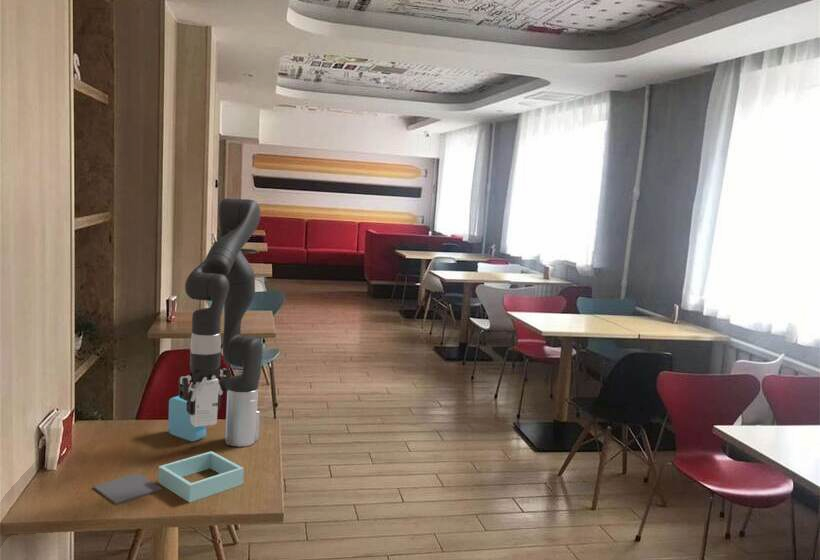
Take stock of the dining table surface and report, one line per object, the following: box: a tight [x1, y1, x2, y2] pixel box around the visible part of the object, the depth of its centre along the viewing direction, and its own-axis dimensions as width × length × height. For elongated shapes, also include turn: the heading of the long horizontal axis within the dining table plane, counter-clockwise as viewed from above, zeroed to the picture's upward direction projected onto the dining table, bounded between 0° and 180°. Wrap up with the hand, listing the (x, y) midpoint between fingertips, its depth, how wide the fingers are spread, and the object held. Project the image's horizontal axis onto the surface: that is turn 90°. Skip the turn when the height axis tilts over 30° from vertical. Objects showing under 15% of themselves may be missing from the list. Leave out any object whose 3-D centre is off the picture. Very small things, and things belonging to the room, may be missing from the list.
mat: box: [92, 472, 163, 505], centre depth 169 cm, size 12×12×1 cm
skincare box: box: [190, 378, 220, 427], centre depth 173 cm, size 6×4×12 cm
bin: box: [157, 450, 245, 503], centre depth 175 cm, size 16×15×4 cm
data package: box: [167, 395, 207, 442], centre depth 206 cm, size 12×4×12 cm, turn 61°
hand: (203, 411), depth 173 cm, fingers closed on skincare box, 7 cm apart
